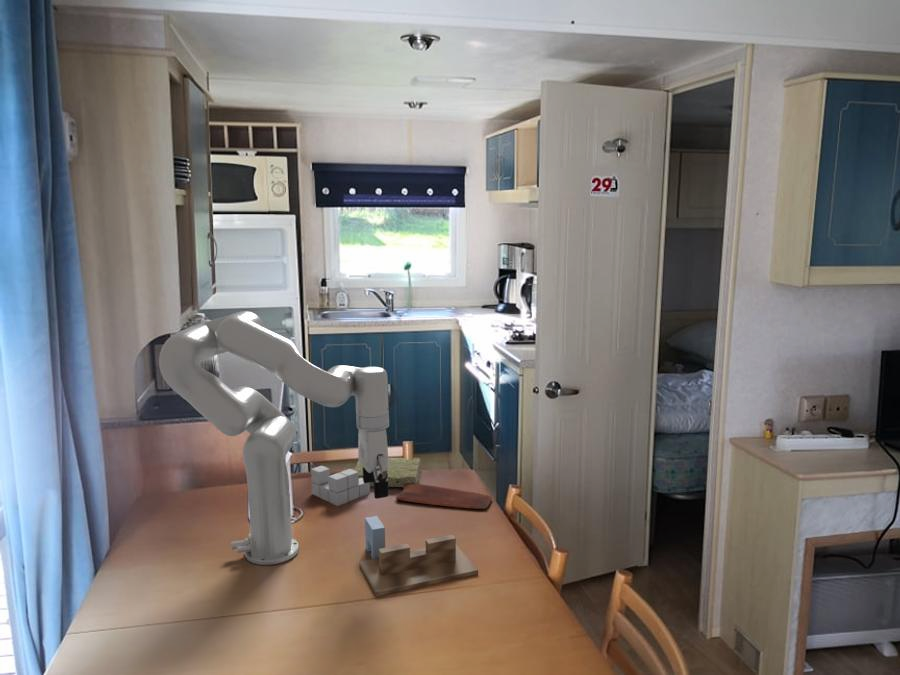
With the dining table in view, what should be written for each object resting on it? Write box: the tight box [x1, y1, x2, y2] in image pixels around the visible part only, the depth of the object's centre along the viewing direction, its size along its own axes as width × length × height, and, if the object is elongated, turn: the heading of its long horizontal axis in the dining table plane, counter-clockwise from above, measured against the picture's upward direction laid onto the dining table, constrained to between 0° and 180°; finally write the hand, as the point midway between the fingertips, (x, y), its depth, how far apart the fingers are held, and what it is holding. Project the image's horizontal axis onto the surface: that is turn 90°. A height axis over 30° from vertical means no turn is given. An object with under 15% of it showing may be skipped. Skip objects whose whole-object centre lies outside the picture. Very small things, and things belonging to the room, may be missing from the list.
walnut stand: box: [359, 534, 479, 597], centre depth 157 cm, size 24×14×6 cm, turn 112°
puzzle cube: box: [310, 465, 371, 507], centre depth 198 cm, size 12×12×8 cm
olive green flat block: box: [354, 457, 422, 488], centre depth 210 cm, size 19×6×20 cm
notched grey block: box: [364, 515, 386, 559], centre depth 164 cm, size 7×3×8 cm, turn 22°
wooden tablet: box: [395, 483, 492, 510], centre depth 194 cm, size 27×10×2 cm, turn 74°
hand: (375, 489), depth 162 cm, fingers open, 9 cm apart
